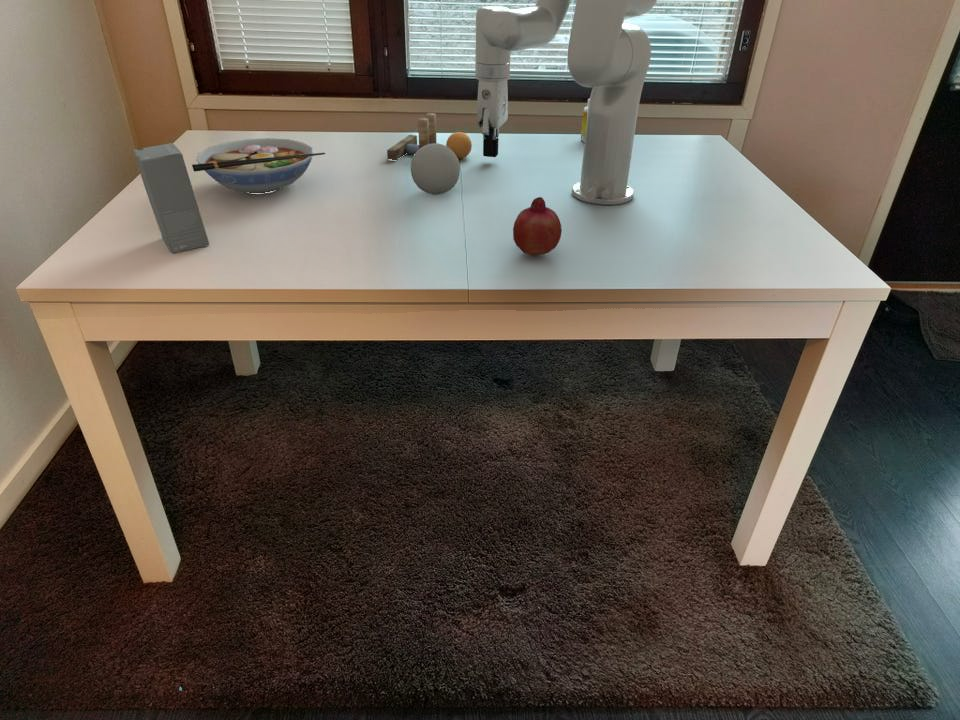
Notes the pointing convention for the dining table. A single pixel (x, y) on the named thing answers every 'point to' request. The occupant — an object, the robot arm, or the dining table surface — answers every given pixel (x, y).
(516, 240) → the fruit
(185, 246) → the skincare box
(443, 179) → the ball
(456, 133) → the orange ball
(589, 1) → the robot arm
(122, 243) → the dining table surface
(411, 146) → the front pin
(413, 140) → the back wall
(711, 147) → the dining table surface
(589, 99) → the supplement bottle
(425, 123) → the pin
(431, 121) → the pin
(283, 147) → the ramen bowl
